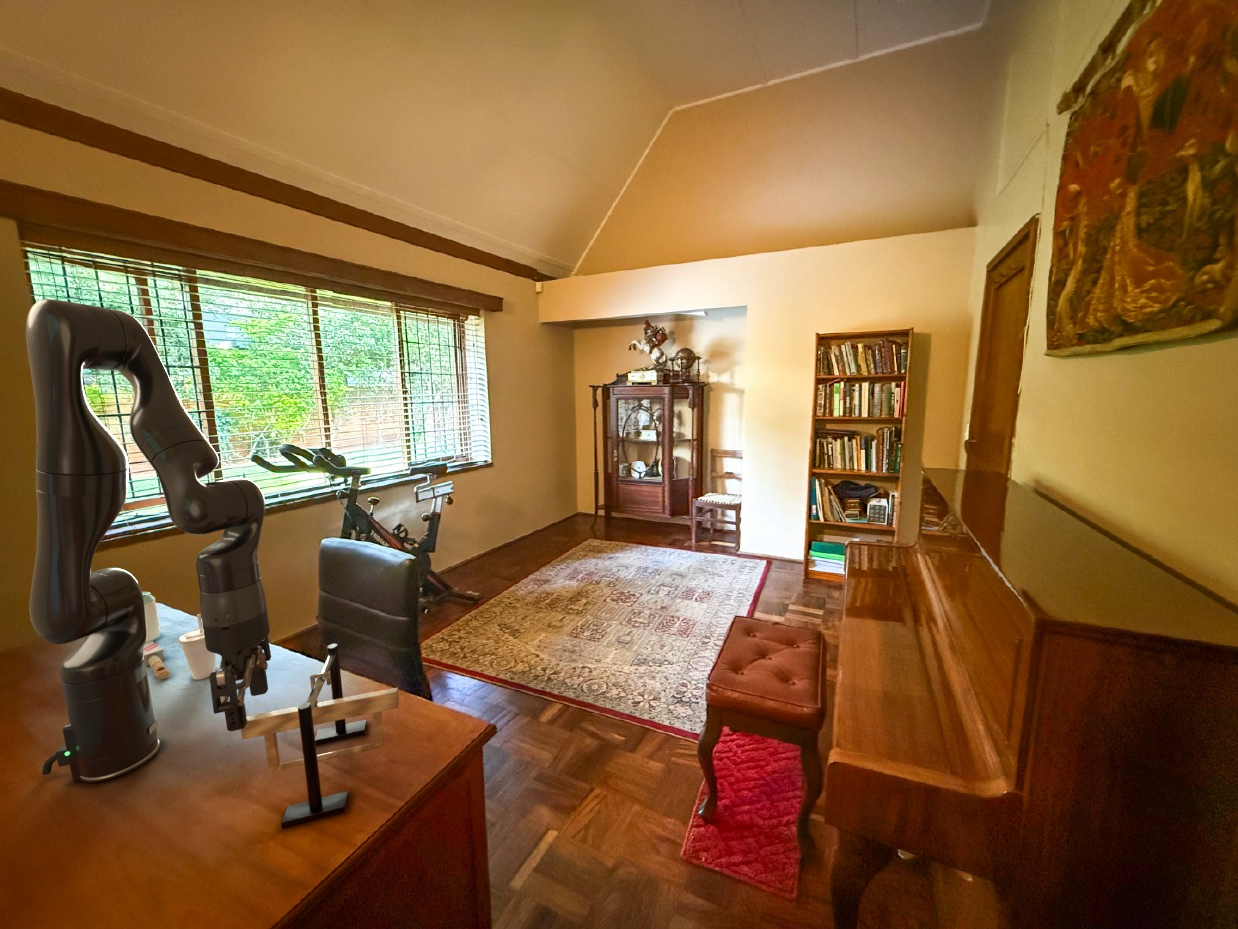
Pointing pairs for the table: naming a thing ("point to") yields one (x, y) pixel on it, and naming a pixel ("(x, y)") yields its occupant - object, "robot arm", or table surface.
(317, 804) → the rail stand
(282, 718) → the hanger
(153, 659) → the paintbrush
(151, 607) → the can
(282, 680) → the table surface
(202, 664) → the smoothie
